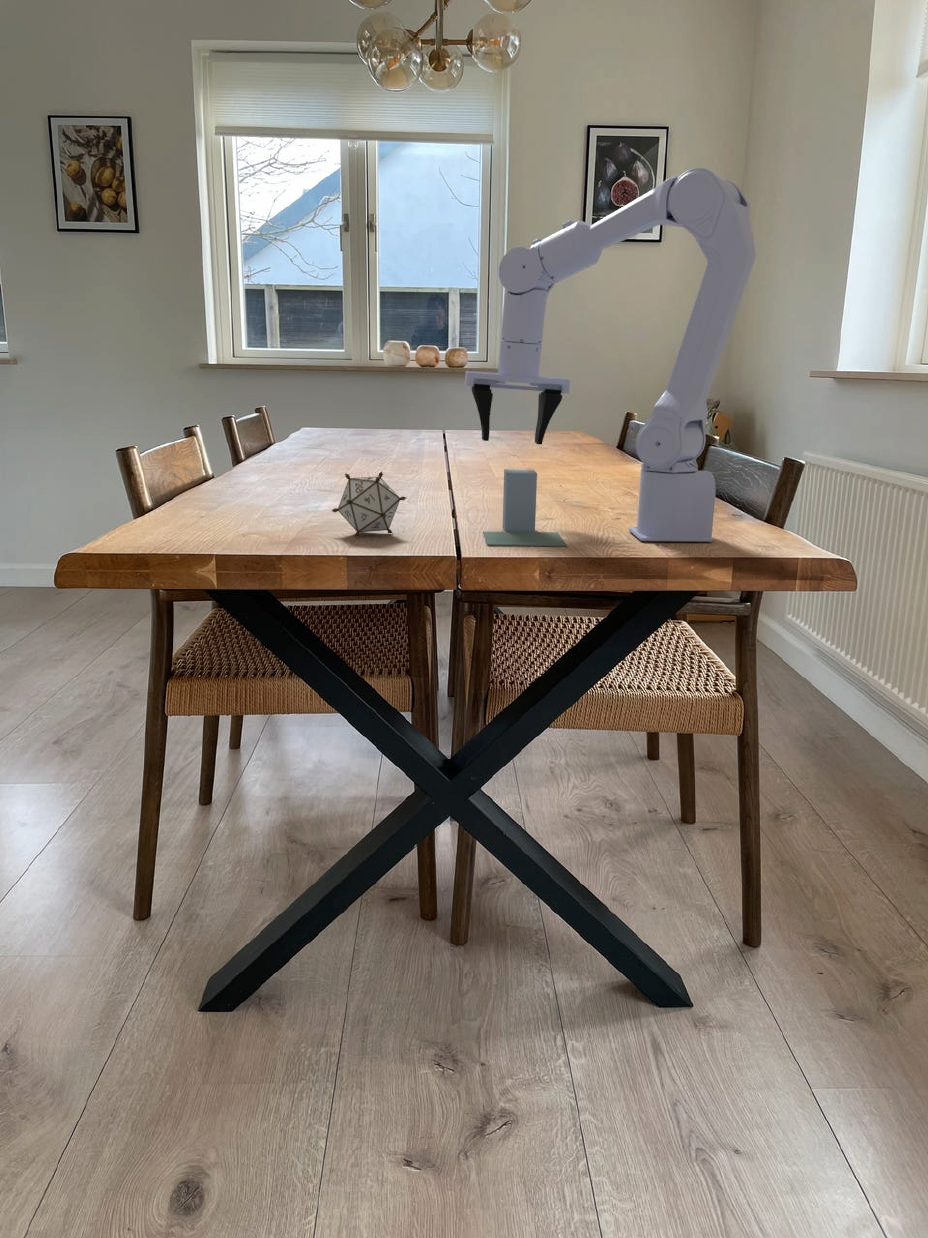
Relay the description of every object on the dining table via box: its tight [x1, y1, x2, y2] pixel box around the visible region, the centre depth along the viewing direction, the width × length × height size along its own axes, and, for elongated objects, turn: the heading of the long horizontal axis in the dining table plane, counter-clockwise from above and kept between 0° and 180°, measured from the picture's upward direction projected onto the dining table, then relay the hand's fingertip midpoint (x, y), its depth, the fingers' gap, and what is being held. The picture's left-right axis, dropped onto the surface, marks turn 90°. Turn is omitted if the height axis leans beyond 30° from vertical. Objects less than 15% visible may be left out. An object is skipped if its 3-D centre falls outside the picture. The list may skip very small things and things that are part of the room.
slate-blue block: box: [502, 468, 538, 532], centre depth 127 cm, size 4×4×8 cm
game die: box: [331, 471, 407, 538], centre depth 122 cm, size 9×8×10 cm
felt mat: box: [482, 531, 568, 548], centre depth 122 cm, size 10×9×1 cm
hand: (511, 441), depth 134 cm, fingers open, 7 cm apart
